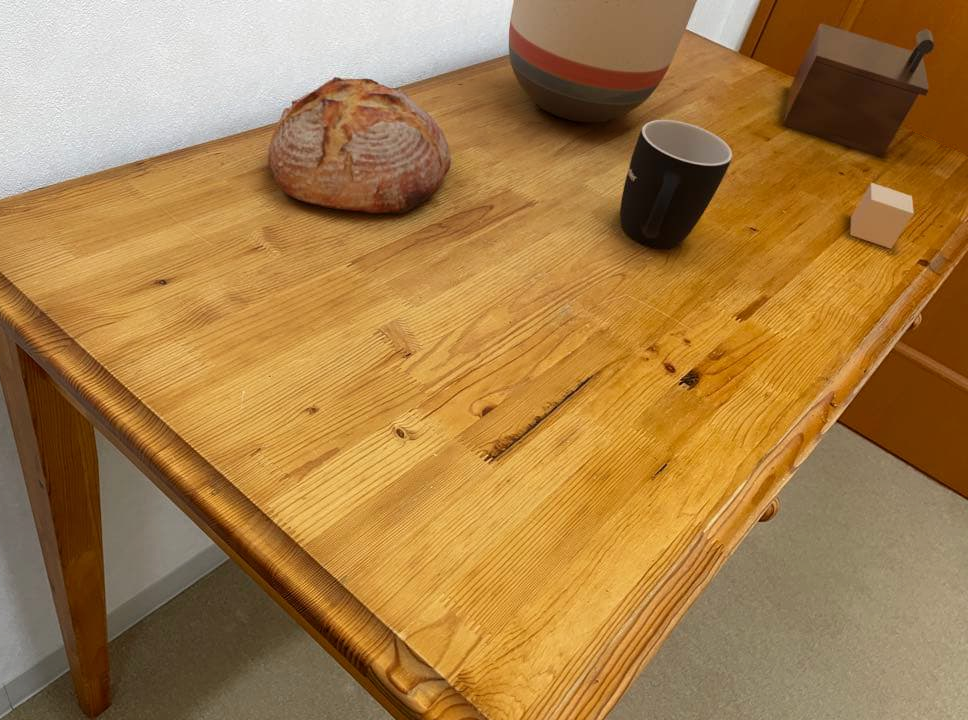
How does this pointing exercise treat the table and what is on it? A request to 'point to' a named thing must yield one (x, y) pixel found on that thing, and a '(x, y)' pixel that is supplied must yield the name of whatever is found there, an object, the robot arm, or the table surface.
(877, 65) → the lid
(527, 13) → the planter
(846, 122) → the chest
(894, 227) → the block
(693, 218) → the mug
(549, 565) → the table surface
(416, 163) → the bread
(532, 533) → the table surface
